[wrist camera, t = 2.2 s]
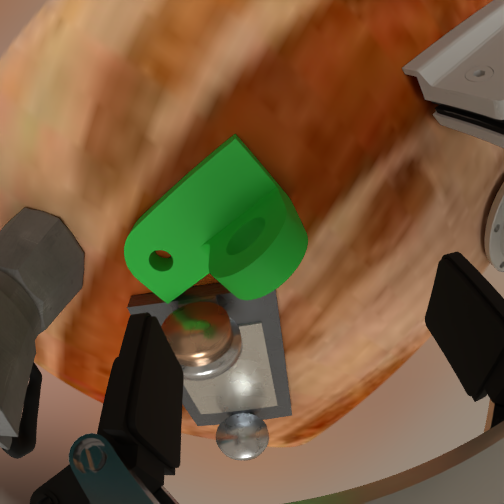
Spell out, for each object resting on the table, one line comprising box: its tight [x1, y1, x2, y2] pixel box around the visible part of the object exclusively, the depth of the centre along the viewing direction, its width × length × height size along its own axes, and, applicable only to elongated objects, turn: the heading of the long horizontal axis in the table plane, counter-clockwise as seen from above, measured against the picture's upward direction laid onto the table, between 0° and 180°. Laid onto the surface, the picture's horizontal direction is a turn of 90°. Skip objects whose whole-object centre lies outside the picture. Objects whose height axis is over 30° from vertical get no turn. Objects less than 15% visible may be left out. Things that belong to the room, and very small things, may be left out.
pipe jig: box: [127, 283, 292, 460], centre depth 27 cm, size 21×12×8 cm, turn 9°
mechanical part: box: [124, 134, 308, 304], centre depth 19 cm, size 12×6×8 cm, turn 129°
